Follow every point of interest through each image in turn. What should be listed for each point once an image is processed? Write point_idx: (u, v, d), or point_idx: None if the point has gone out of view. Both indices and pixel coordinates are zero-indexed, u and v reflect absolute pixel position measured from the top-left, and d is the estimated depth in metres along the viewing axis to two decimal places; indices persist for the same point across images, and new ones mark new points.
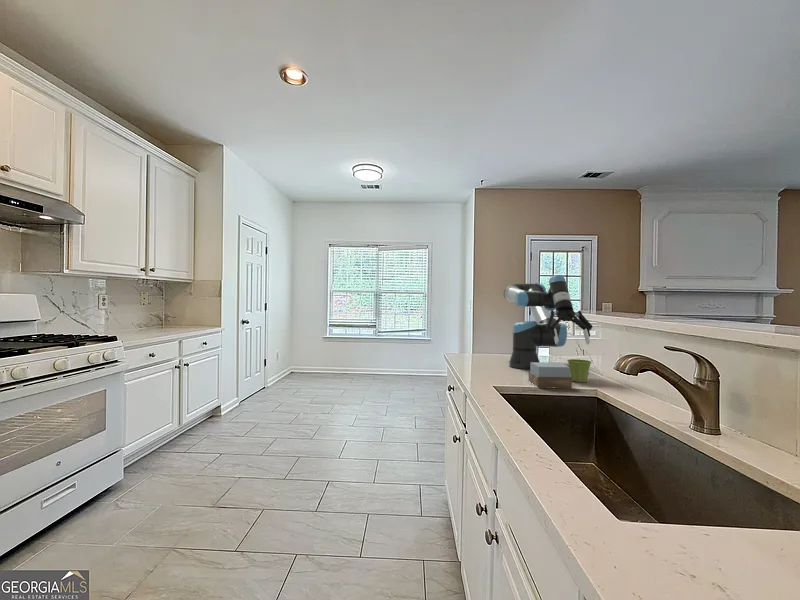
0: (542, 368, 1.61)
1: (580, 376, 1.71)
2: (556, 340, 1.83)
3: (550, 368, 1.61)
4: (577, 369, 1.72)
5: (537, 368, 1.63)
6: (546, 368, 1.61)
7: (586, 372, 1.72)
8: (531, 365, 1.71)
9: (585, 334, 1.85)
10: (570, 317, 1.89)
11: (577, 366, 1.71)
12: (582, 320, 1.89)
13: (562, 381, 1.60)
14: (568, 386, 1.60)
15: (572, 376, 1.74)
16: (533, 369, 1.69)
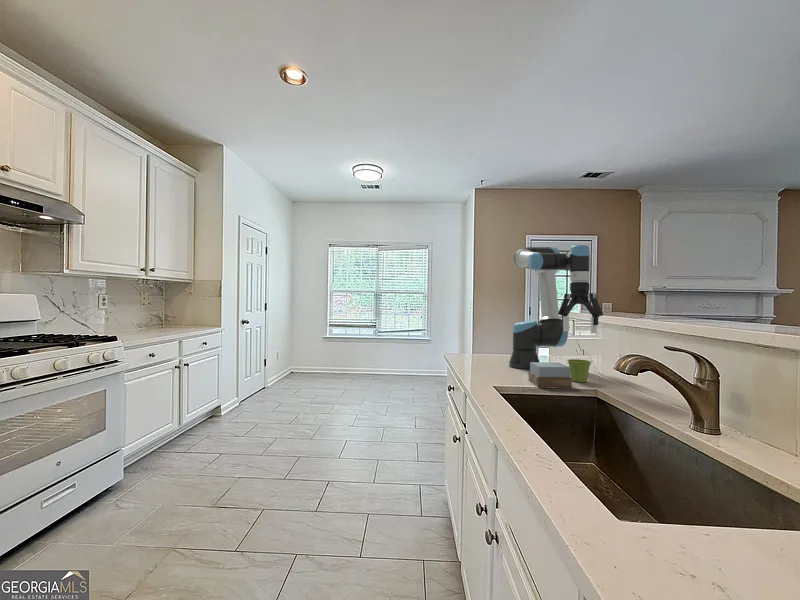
0: (542, 368, 1.61)
1: (580, 376, 1.71)
2: None
3: (550, 368, 1.61)
4: (577, 369, 1.72)
5: (537, 368, 1.63)
6: (546, 368, 1.61)
7: (586, 372, 1.72)
8: (531, 365, 1.71)
9: None
10: (580, 302, 1.73)
11: (577, 366, 1.71)
12: None
13: (562, 381, 1.60)
14: (568, 386, 1.60)
15: (572, 376, 1.74)
16: (533, 369, 1.69)
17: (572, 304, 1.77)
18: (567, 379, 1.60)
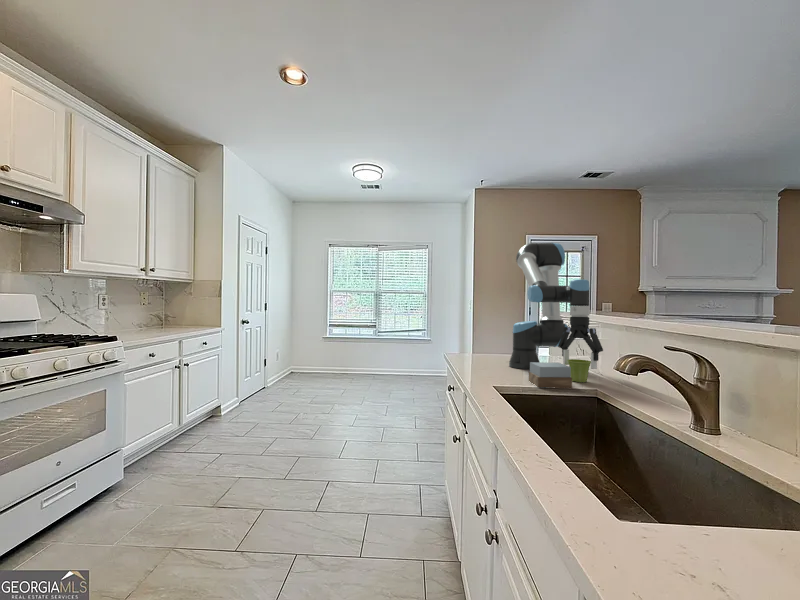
0: (543, 368, 1.61)
1: (580, 376, 1.71)
2: None
3: (551, 368, 1.61)
4: (577, 369, 1.72)
5: (538, 368, 1.63)
6: (547, 368, 1.61)
7: (586, 372, 1.72)
8: (531, 365, 1.71)
9: None
10: (580, 336, 1.73)
11: (577, 366, 1.71)
12: None
13: (562, 381, 1.60)
14: (568, 386, 1.60)
15: (572, 376, 1.74)
16: (533, 369, 1.68)
17: (572, 338, 1.77)
18: (567, 379, 1.60)
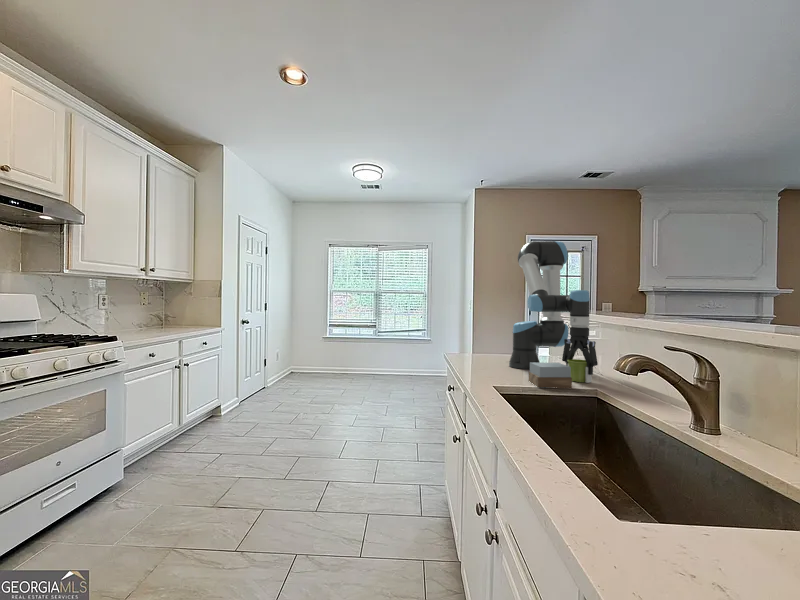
0: (543, 368, 1.61)
1: (580, 376, 1.71)
2: None
3: (551, 368, 1.61)
4: (577, 369, 1.72)
5: (538, 368, 1.63)
6: (547, 368, 1.61)
7: None
8: (531, 365, 1.71)
9: None
10: None
11: (577, 366, 1.71)
12: None
13: (562, 381, 1.61)
14: (568, 386, 1.60)
15: (572, 376, 1.74)
16: (533, 369, 1.68)
17: (574, 349, 1.76)
18: (567, 379, 1.60)
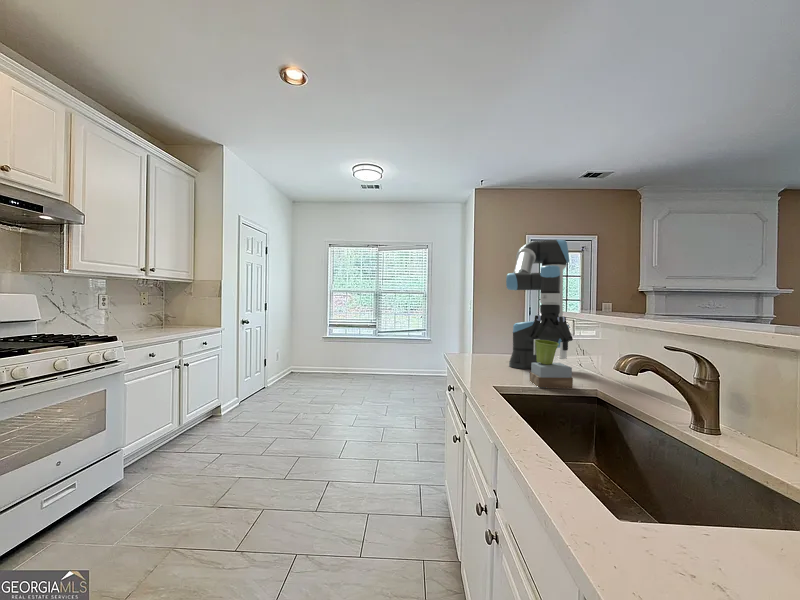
0: (544, 368, 1.61)
1: (545, 358, 1.66)
2: None
3: (552, 368, 1.61)
4: (543, 351, 1.66)
5: (539, 368, 1.63)
6: (548, 368, 1.61)
7: (552, 355, 1.66)
8: (532, 366, 1.71)
9: None
10: (550, 325, 1.65)
11: (543, 348, 1.66)
12: None
13: (563, 381, 1.60)
14: (569, 386, 1.60)
15: (538, 357, 1.69)
16: (534, 369, 1.68)
17: (542, 327, 1.70)
18: (568, 379, 1.60)
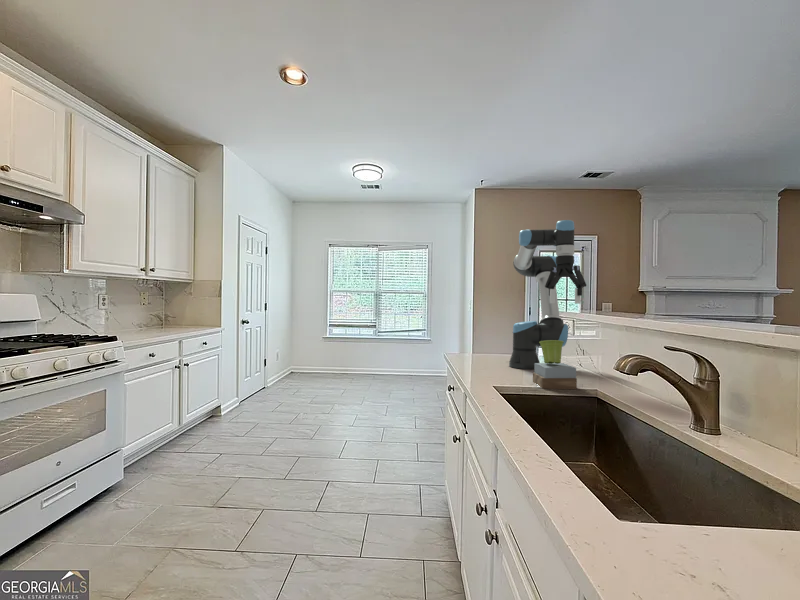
0: (548, 369, 1.59)
1: (555, 355, 1.64)
2: None
3: (556, 369, 1.59)
4: (552, 348, 1.64)
5: (543, 369, 1.61)
6: (552, 369, 1.59)
7: (560, 352, 1.65)
8: (536, 366, 1.69)
9: None
10: (565, 274, 1.82)
11: (552, 345, 1.64)
12: None
13: (567, 382, 1.59)
14: (573, 387, 1.59)
15: (547, 357, 1.65)
16: (538, 370, 1.67)
17: (558, 277, 1.86)
18: (572, 380, 1.59)
